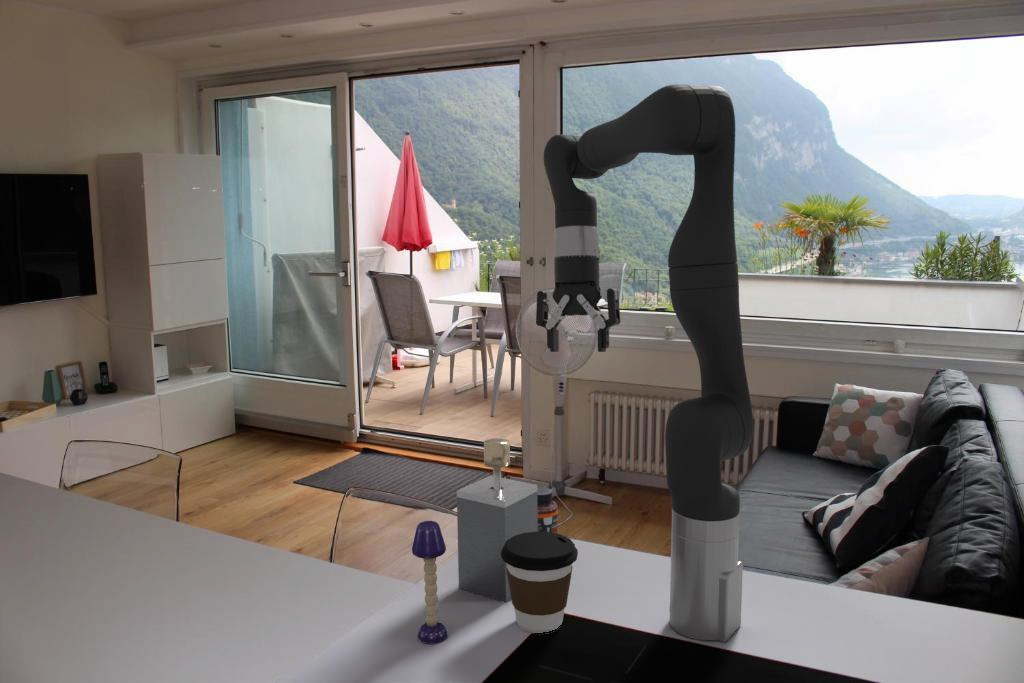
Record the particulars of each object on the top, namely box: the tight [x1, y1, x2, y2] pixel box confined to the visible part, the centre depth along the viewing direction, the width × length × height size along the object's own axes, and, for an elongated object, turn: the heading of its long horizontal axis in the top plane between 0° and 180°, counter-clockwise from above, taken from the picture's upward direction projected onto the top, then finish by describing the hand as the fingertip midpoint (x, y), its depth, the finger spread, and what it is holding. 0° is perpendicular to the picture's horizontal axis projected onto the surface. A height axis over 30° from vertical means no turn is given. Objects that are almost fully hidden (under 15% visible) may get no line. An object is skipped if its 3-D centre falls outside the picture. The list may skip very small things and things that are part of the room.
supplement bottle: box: [537, 487, 559, 534], centre depth 147 cm, size 6×6×11 cm
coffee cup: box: [501, 532, 579, 634], centre depth 122 cm, size 11×11×12 cm
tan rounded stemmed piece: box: [483, 437, 511, 491], centre depth 134 cm, size 7×7×18 cm
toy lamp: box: [411, 520, 449, 645], centre depth 118 cm, size 5×5×17 cm
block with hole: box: [456, 475, 538, 603], centre depth 135 cm, size 9×9×16 cm
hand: (578, 351), depth 144 cm, fingers open, 8 cm apart
